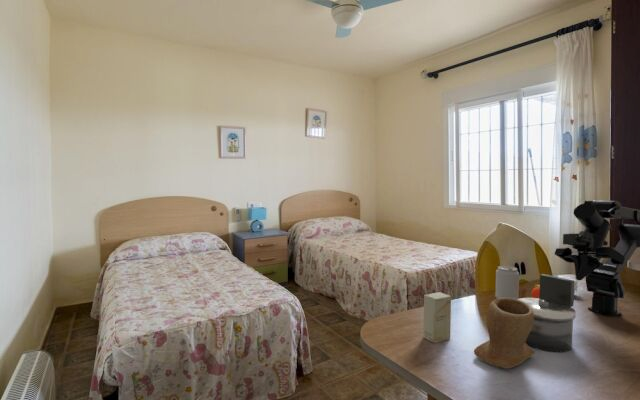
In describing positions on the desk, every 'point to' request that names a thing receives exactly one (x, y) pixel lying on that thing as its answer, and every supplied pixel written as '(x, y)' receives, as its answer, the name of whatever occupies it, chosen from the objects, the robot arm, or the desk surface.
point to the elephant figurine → (574, 283)
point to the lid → (553, 299)
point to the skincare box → (437, 317)
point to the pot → (551, 335)
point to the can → (507, 282)
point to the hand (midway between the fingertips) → (578, 279)
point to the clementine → (535, 291)
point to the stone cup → (507, 333)
